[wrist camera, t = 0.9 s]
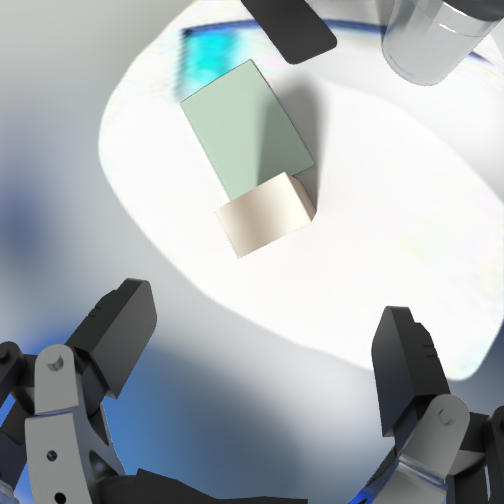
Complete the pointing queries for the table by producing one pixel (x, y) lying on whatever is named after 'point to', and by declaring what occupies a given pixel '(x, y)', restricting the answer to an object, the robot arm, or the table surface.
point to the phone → (292, 28)
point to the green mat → (245, 131)
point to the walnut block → (265, 214)
